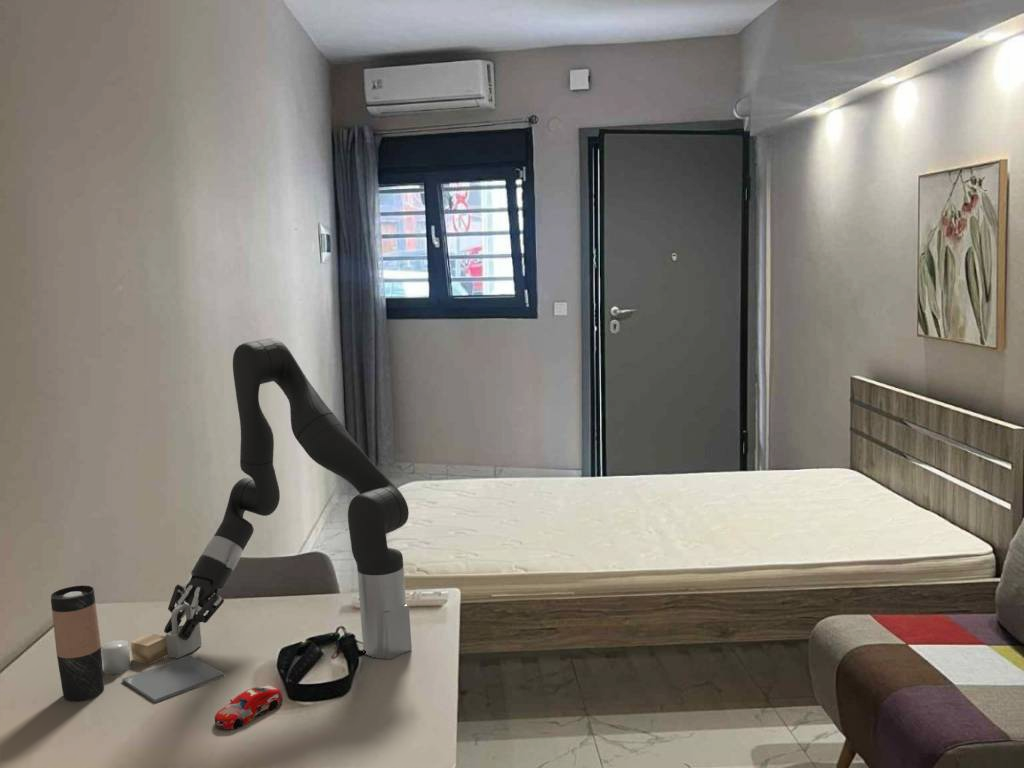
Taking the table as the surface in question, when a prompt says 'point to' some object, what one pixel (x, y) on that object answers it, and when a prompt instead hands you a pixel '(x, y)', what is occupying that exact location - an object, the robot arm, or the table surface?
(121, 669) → the white rounded capsule
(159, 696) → the mat
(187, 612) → the padlock
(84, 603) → the travel mug
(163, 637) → the oak block
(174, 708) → the table surface
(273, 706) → the race car
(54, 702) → the table surface
